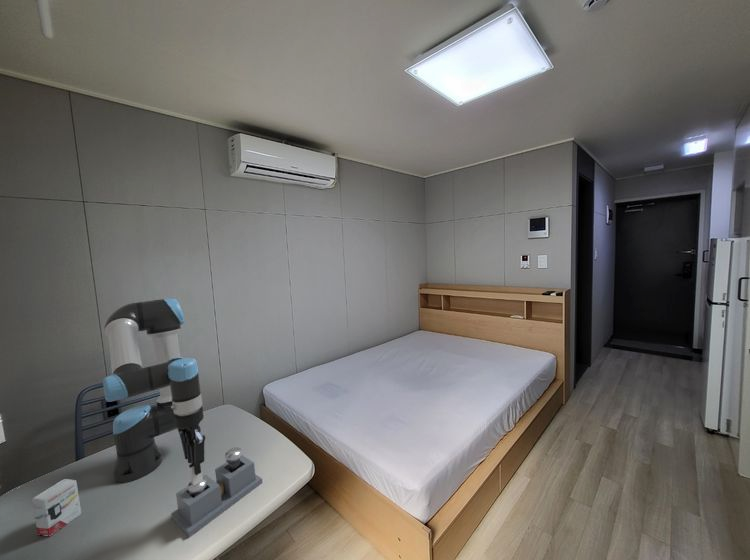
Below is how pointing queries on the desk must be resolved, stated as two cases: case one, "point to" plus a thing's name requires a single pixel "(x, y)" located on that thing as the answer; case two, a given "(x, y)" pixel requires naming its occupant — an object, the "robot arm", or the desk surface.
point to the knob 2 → (233, 459)
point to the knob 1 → (197, 488)
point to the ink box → (56, 506)
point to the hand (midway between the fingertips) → (197, 482)
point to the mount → (215, 496)
